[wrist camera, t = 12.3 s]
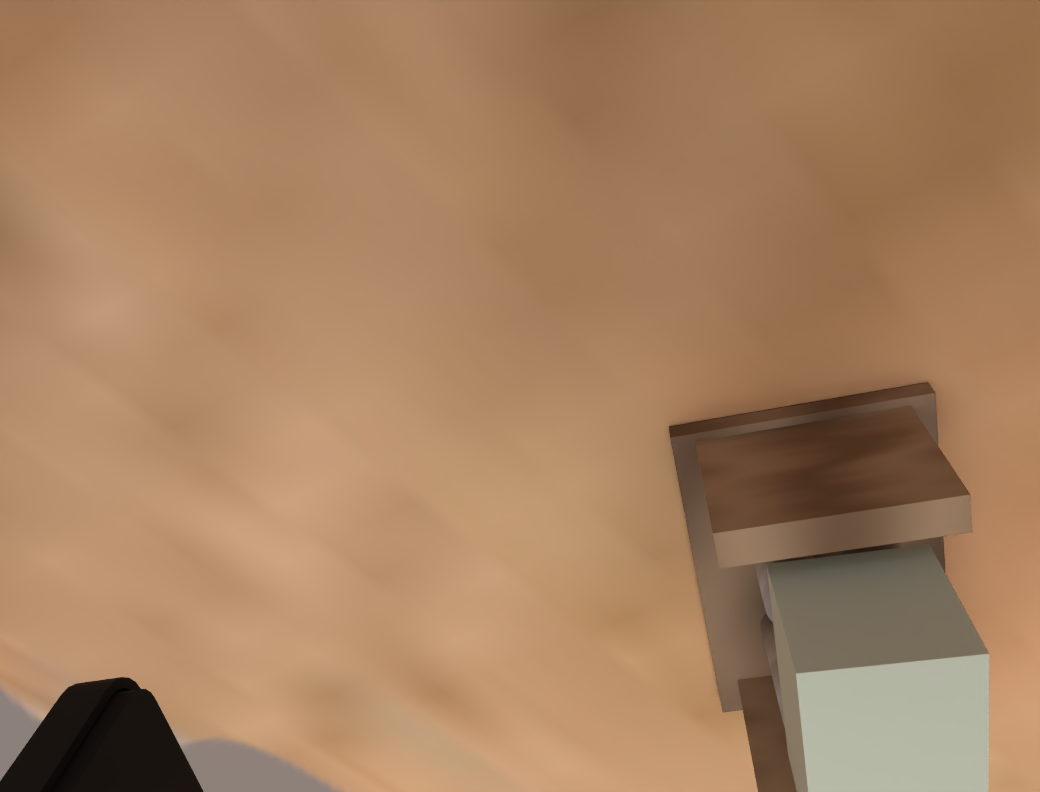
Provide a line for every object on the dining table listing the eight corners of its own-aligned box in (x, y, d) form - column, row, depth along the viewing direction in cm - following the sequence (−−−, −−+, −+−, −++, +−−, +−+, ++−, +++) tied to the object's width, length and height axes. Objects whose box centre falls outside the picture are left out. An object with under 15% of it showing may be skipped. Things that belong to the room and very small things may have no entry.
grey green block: (929, 544, 35) (989, 653, 30) (934, 740, 39) (987, 867, 34) (766, 564, 36) (796, 673, 31) (788, 754, 40) (817, 879, 35)
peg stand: (927, 382, 40) (1000, 480, 33) (944, 670, 47) (1007, 804, 39) (668, 426, 42) (683, 528, 35) (720, 698, 48) (741, 830, 41)
